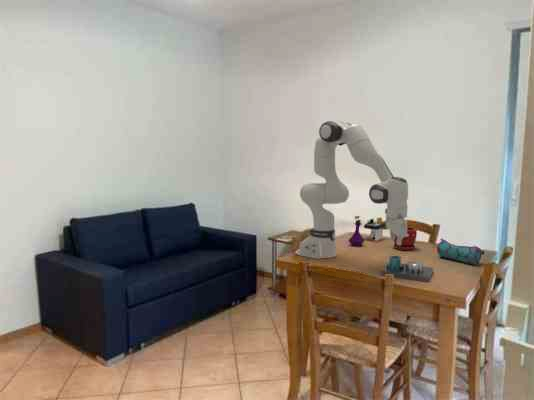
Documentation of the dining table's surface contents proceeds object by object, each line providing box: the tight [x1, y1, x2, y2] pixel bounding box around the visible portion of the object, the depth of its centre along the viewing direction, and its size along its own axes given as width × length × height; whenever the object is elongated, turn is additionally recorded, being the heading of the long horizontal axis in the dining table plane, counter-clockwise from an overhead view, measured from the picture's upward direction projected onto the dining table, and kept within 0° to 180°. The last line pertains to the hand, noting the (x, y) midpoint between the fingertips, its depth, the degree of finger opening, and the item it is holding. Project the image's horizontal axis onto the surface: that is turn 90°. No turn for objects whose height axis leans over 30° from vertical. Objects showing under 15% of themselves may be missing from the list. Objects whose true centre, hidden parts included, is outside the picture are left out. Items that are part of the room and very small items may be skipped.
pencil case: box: [436, 238, 485, 266], centre depth 201 cm, size 21×9×10 cm, turn 36°
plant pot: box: [393, 226, 418, 251], centre depth 227 cm, size 13×13×12 cm
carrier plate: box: [380, 261, 434, 283], centre depth 181 cm, size 20×16×6 cm
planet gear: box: [385, 255, 405, 270], centre depth 183 cm, size 8×8×5 cm
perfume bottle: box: [348, 215, 365, 247], centre depth 234 cm, size 8×8×18 cm
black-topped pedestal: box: [363, 218, 386, 242], centre depth 250 cm, size 28×26×13 cm
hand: (395, 242), depth 182 cm, fingers open, 8 cm apart
